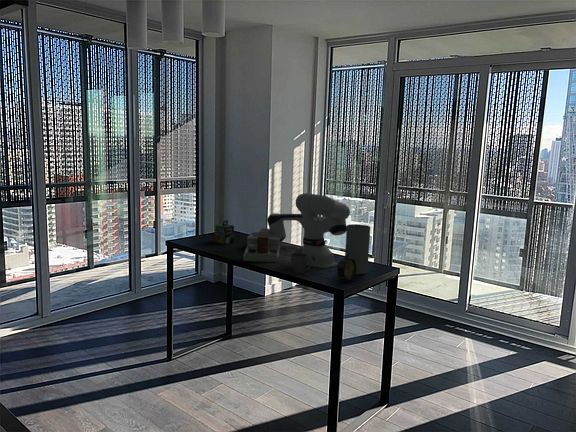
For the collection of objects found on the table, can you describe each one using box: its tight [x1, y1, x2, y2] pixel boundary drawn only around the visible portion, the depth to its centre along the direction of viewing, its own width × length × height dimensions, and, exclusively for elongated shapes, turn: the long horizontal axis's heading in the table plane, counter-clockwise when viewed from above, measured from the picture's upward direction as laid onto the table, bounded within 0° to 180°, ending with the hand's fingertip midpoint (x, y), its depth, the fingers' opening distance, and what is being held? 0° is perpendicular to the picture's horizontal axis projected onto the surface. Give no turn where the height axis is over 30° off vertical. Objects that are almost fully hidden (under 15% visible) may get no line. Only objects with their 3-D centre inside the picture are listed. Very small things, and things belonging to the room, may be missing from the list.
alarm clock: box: [336, 250, 356, 284], centre depth 243 cm, size 11×5×16 cm, turn 138°
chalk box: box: [214, 219, 235, 245], centre depth 320 cm, size 9×9×15 cm
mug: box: [290, 252, 312, 275], centre depth 256 cm, size 12×9×10 cm
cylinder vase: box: [344, 223, 371, 275], centre depth 261 cm, size 12×12×25 cm
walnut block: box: [257, 231, 270, 254], centre depth 285 cm, size 14×6×12 cm, turn 0°
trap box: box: [242, 243, 281, 263], centre depth 294 cm, size 36×20×4 cm, turn 0°
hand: (262, 243), depth 292 cm, fingers closed
